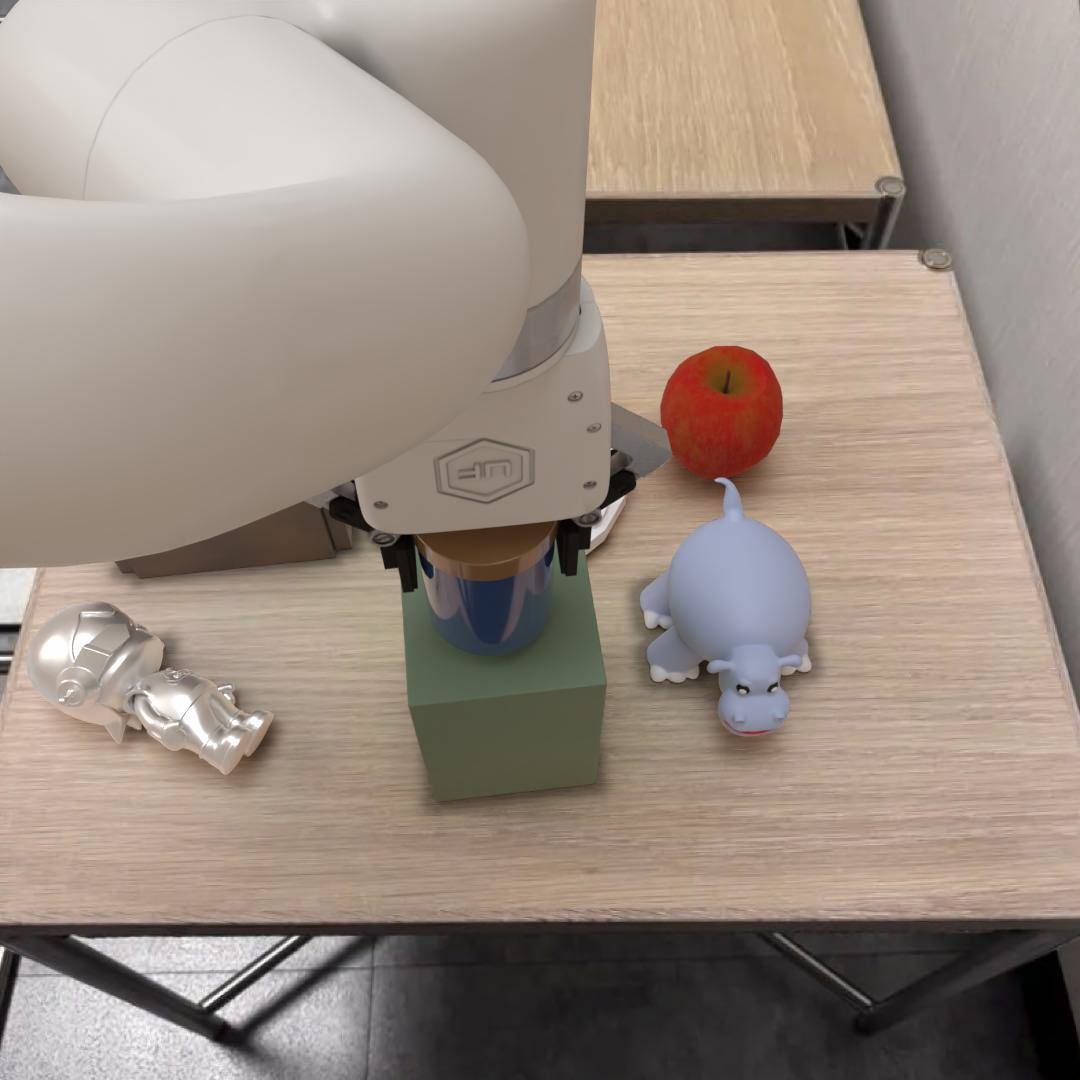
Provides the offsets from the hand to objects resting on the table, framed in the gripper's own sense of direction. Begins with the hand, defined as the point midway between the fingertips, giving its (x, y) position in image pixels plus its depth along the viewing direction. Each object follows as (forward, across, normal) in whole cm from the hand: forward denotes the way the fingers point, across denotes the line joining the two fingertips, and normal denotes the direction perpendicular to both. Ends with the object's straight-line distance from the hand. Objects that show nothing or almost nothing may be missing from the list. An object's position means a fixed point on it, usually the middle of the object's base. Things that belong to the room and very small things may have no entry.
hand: (487, 556), depth 51 cm
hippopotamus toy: (+21, +16, +4) cm, 26 cm away
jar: (+4, 0, 0) cm, 4 cm away
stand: (+21, +1, 0) cm, 21 cm away
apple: (+20, +18, +18) cm, 33 cm away
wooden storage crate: (+21, -17, +24) cm, 36 cm away
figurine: (+21, -21, +4) cm, 30 cm away
